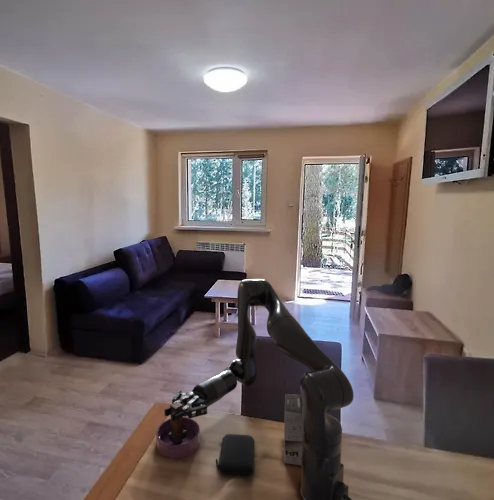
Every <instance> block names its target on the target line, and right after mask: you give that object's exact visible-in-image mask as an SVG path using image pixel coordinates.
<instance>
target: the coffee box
mask: <svg viewBox="0 0 494 500" xmlns="http://www.w3.org/2000/svg"><path fill="white" fill-rule="evenodd" d="M283 422H284V426H283V427H284V430H283V431H284V432H283V463H284V464H290V465H296V466H301V464H302V431H303V425H302V420H301V404H300V394H295V393H293V394H292V393H285V395H284V421H283Z"/></svg>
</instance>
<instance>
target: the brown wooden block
mask: <svg viewBox="0 0 494 500" xmlns="http://www.w3.org/2000/svg"><path fill="white" fill-rule="evenodd" d="M169 406H170V412H171V414H172V413H174V412H175V411H177V410H179V409H182V404H180V403H178V402H175V403H173V404H172V403H171V404H170V405H169ZM168 437H169V440H170V441H172V442H173V443H174V444H176V443H178V442H179V441H181V440H182V439H184V438H185V437H186V430H184V429H183V417H181V418H180V419H178V420H175V421H172V420H171V432H170V433H168Z"/></svg>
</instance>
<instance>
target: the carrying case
mask: <svg viewBox="0 0 494 500" xmlns="http://www.w3.org/2000/svg"><path fill="white" fill-rule="evenodd" d="M215 466H216V469H217V471H219V473H220V474H222V475H223V476H227V477H237V478H238V477H239V478H249V477H251V476H252V475H253V474H254V472H255V438H254V437H253V436H252V435H250V434H242V433H241V434H239V433H227V434H225V435H224V436H223V437H222V440H221V446H220V453H219V458H217V457H216V458H215Z"/></svg>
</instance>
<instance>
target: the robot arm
mask: <svg viewBox="0 0 494 500" xmlns="http://www.w3.org/2000/svg"><path fill="white" fill-rule="evenodd" d="M236 301H237V337H236V338H237V339H236V345H235V356H236V358H237V359H234V360H232V361H231V362H230V363H229V365H228V366H226V368H225V369H223V371H222V372H220V373H217V374H216V375H214V376H211V377H209V378H207V379H205V380H203V381H202V382H200V383H198V384H195V386H194V387H193V388H192V390H190V391H187V392H183V390H182V389H179V390H178V391H177V392H176V394H175V395H174V396H173V397H172V398H171V405H172V404H173V403H175V402H178V403H180V404H182V409H179V410H177V411H175V412H174V413H172V414H171V412H170V405H169V406H167V407H165V409H164V416H165V417H169V416H170V419H171V420H172V421H175V420H178V419H180V418H181V417H188V418H191V419H193V418H197V417H201V416H205V415H208V408H209V407H210V406H212V405H213V404H215V403H217V402H218V401H220V400H222V398H224V397H225V396H227V395H228V394H229V393H231V392H232V391H235V389H236V388H237V387H238V383H240V384H241V385H243V386H245V387H250V386H252V385H253V384H254V383H255V382H256V380H257V377H258V365H257V359H256V350H257V343H258V341H257V340H258V337H257V333H256V330H255V327H254V325H253V323H252V322H251V319H250V316H249V311H250V307H264V308H265V309H266V310H267V312H268V316H267V320H266V331H267V334H268V336H269V338H270V339H271V340H272V342H273V344H274V345H275V346H276V348H277V349H278V350H279V351H280V352H281V353H283V354H284V355H286V356H287V357H289V358H291V359H293V360H295V361H297V362H299V363H300V364H302V365H304V366H305V367H306V368H308V369H309V370H310V371H307V372H305V373H303V375H302V376H301V379H300V382H299V395H300V404H301V420H302V425H303V431H302V464H301V465H300V466H301V467H300V488H299V489H300V491H299V493H300V496H301V498H302V500H353V499H352V498H351V497H349V485H347V484H346V483H344V468H345V466H344V464H343V463H342V443H343V441H342V440H343V427H342V424H341V422H340V421H339V420H338V419H337V418H336V417H335V416H333V415H331V414H329V413H328V412H332V411H336V410H340V409H343V408H345V407H348V406H350V405H351V404H353V401H354V389H353V386H352V384H351V382H350V380H349V378H348V377H347V375H346V374H345V372H344V371H343V370H342V369H341V368H340V367H339V366H338V365H337V364H336V363H335V362H334V361H333V360H332V358H330V357H329V356H328V355H327V354H326V353H325V352H324V351H323V350H322V349H321V348H320V347H319V346H318V345H317V343H315V341H314V340H313V338H311V336H310V335H309V334H308V333H307V332H306V331H305V329H304V328H303V327H302V325H301V323H300V322H299V321H298V320H297V318H296V317H294V316H293V314H292V313H291V312H290V311H289V309H287V307H286V305H285V304H284V303H283V301H282V300H281V298H280V297H279V295H278V294H277V292H276V291H275V289H274V287H273V285H272V284H271V283H270V282H269V281H268V280H267V279H263V278H251V279H250V278H248V279H242V280H240V282H239V284H238V288H237V300H236Z"/></svg>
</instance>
